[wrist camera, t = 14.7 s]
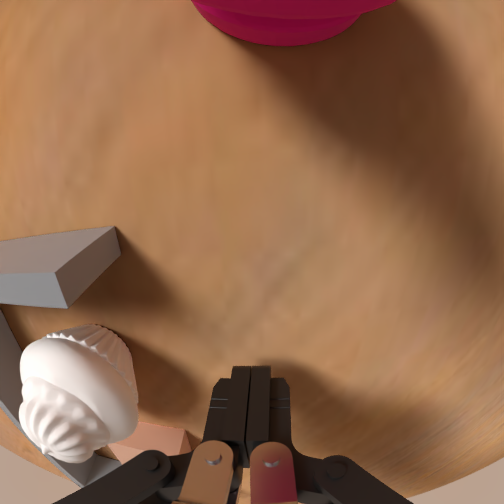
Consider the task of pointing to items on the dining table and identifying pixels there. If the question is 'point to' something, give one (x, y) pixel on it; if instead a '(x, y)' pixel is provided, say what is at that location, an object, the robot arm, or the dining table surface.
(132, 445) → the block
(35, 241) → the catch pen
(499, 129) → the dining table surface
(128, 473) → the robot arm
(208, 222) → the dining table surface
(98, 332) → the white rounded ceramic piece
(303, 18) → the pepper mill
